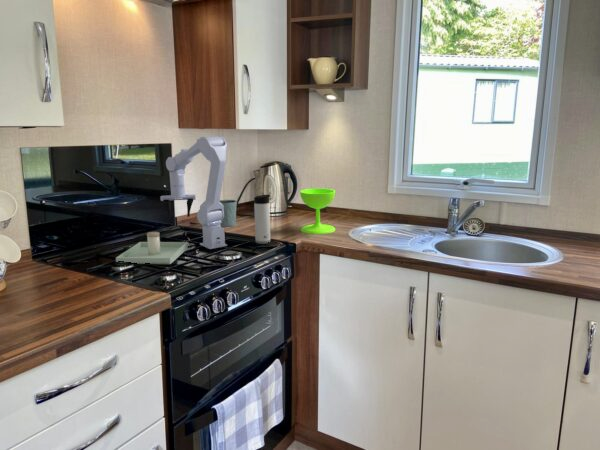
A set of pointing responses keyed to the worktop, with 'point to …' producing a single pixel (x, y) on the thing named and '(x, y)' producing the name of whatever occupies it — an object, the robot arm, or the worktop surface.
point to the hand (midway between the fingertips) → (179, 216)
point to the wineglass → (317, 208)
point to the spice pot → (153, 243)
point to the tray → (141, 256)
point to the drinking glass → (229, 213)
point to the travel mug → (262, 219)
